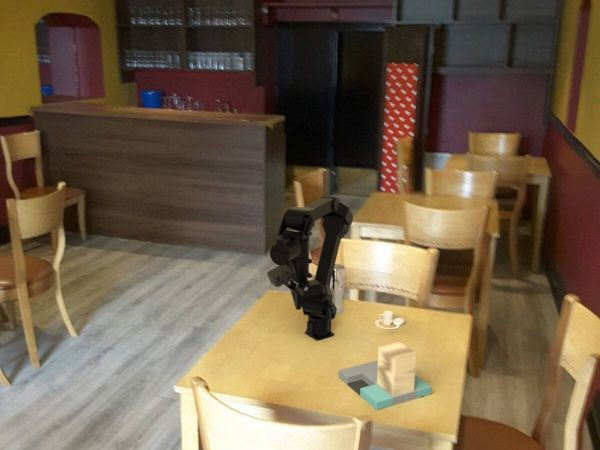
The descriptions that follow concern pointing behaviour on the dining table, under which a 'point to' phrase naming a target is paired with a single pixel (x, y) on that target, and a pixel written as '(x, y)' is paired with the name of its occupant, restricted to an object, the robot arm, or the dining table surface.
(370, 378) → the board
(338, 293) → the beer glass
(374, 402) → the mint green slab
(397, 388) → the maple block
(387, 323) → the teacup and saucer
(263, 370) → the dining table surface
